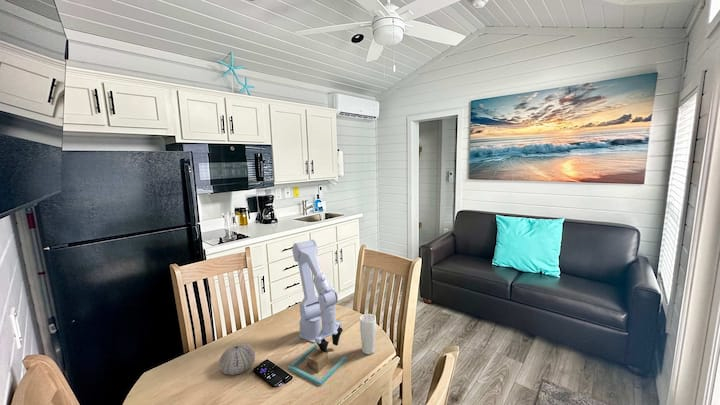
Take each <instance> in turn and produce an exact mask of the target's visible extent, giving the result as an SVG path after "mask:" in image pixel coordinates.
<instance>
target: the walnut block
mask: <svg viewBox="0 0 720 405" xmlns="http://www.w3.org/2000/svg"><path fill="white" fill-rule="evenodd" d="M305 362H306V368H307V369H309V370H312V371H314V372H315V373H318V374H319V373H320V372H321V371H323V369H324V368H325V367H326V366H328V365H329V353H328V352H327V353H326V352H323V351H321V350H320V348H316V349H315V350H314V351H313V352H312V353H310V354H309V355H308V356H307V357H306V358H305Z"/></svg>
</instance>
